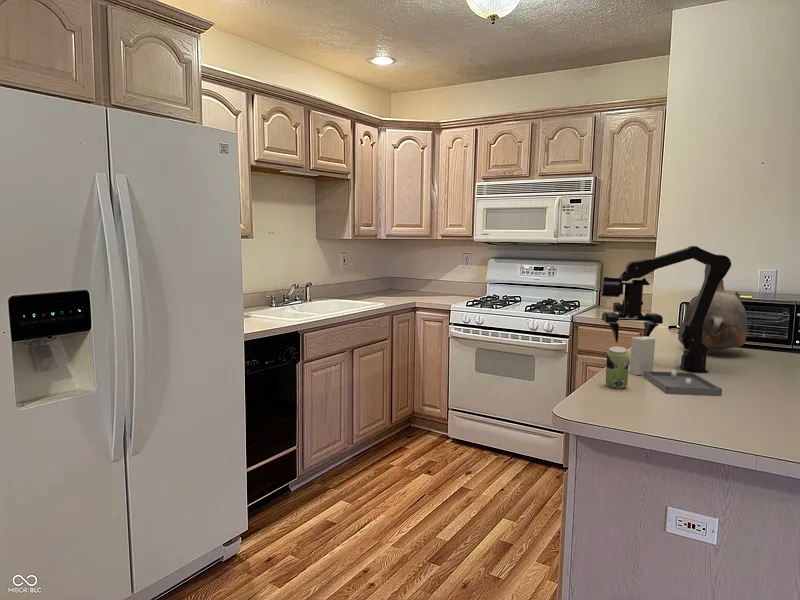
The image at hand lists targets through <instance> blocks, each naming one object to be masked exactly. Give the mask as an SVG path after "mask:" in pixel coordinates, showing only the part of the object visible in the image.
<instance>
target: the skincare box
mask: <svg viewBox="0 0 800 600" xmlns="http://www.w3.org/2000/svg"><path fill="white" fill-rule="evenodd" d="M655 347H656V338H654V337H651V336H649V337H646V336H645V337H643V336H632V337H631V344H630V354H629V367H628V373H630V374H631V373H633V374H632V375H634V374H635V375H634V376H637V375H640V376H644V371H653V370H654V361H655V358H654V357H655V356H654V355H655Z"/></svg>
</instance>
